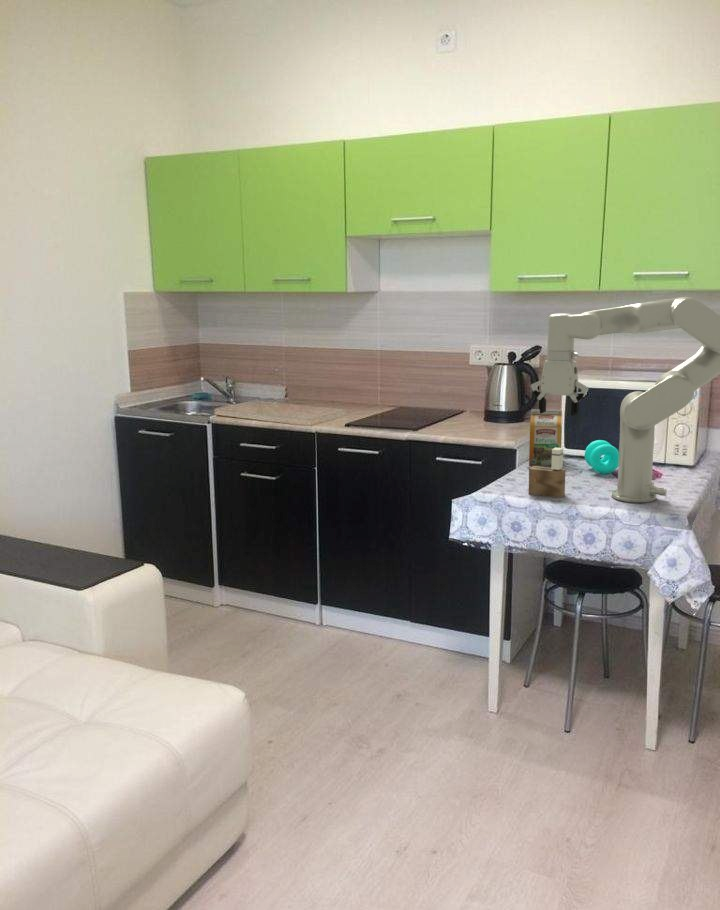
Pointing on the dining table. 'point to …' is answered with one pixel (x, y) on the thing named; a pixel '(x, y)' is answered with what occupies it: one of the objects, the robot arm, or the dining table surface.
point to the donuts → (609, 459)
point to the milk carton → (544, 436)
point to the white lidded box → (557, 458)
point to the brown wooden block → (547, 481)
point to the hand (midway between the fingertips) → (558, 413)
